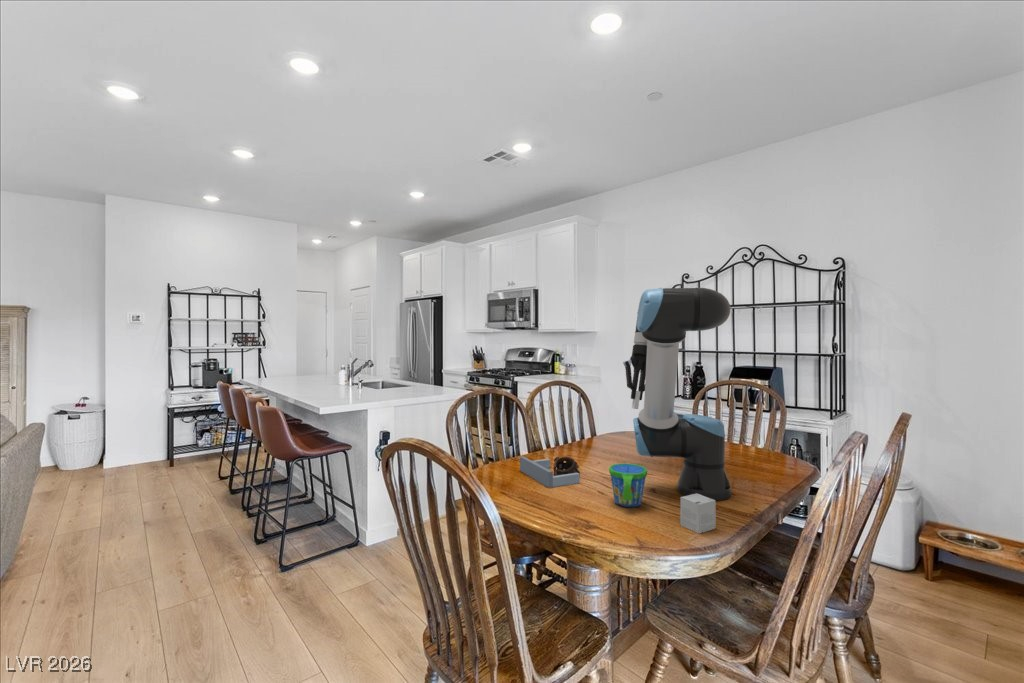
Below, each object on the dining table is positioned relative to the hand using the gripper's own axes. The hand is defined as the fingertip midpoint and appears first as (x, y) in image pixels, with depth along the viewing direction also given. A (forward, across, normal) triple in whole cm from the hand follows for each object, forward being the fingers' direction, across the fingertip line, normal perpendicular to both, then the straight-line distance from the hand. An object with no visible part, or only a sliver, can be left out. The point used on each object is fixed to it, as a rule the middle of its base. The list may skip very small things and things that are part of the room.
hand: (634, 408), depth 175 cm
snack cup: (+27, +10, +35) cm, 45 cm away
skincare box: (+27, -2, +53) cm, 59 cm away
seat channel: (+28, +29, +7) cm, 41 cm away
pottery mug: (+27, +24, +8) cm, 37 cm away
